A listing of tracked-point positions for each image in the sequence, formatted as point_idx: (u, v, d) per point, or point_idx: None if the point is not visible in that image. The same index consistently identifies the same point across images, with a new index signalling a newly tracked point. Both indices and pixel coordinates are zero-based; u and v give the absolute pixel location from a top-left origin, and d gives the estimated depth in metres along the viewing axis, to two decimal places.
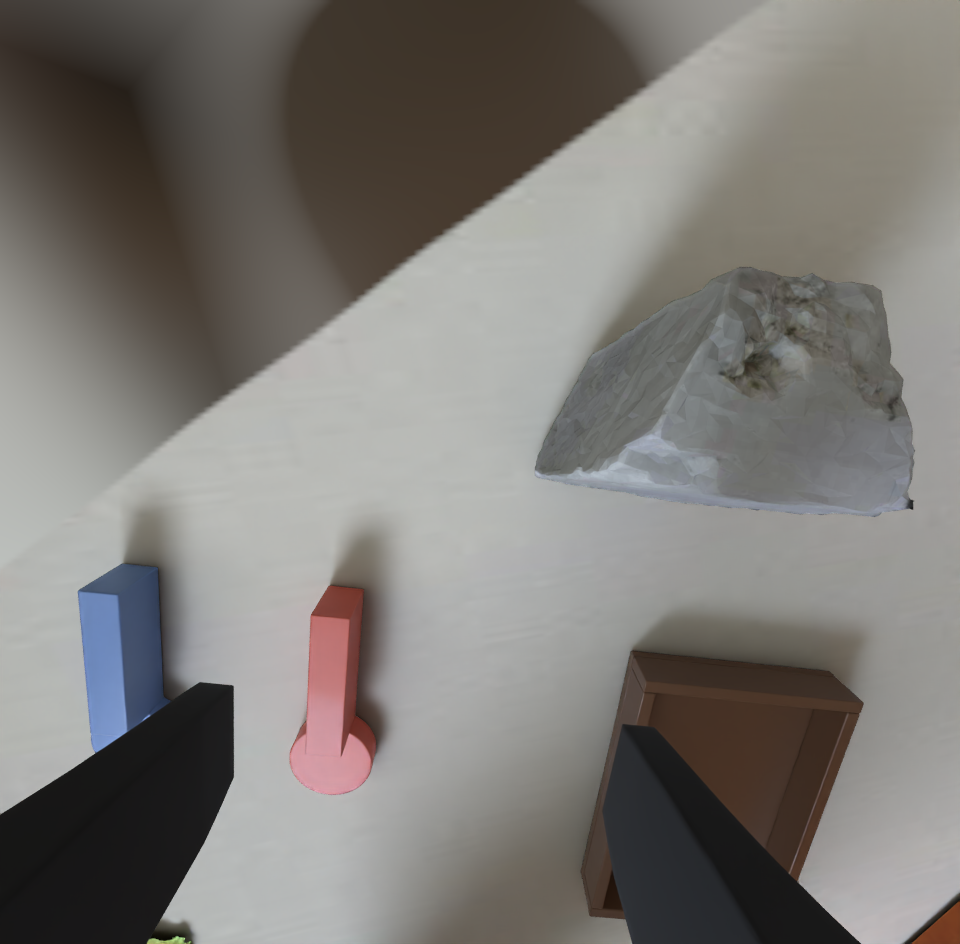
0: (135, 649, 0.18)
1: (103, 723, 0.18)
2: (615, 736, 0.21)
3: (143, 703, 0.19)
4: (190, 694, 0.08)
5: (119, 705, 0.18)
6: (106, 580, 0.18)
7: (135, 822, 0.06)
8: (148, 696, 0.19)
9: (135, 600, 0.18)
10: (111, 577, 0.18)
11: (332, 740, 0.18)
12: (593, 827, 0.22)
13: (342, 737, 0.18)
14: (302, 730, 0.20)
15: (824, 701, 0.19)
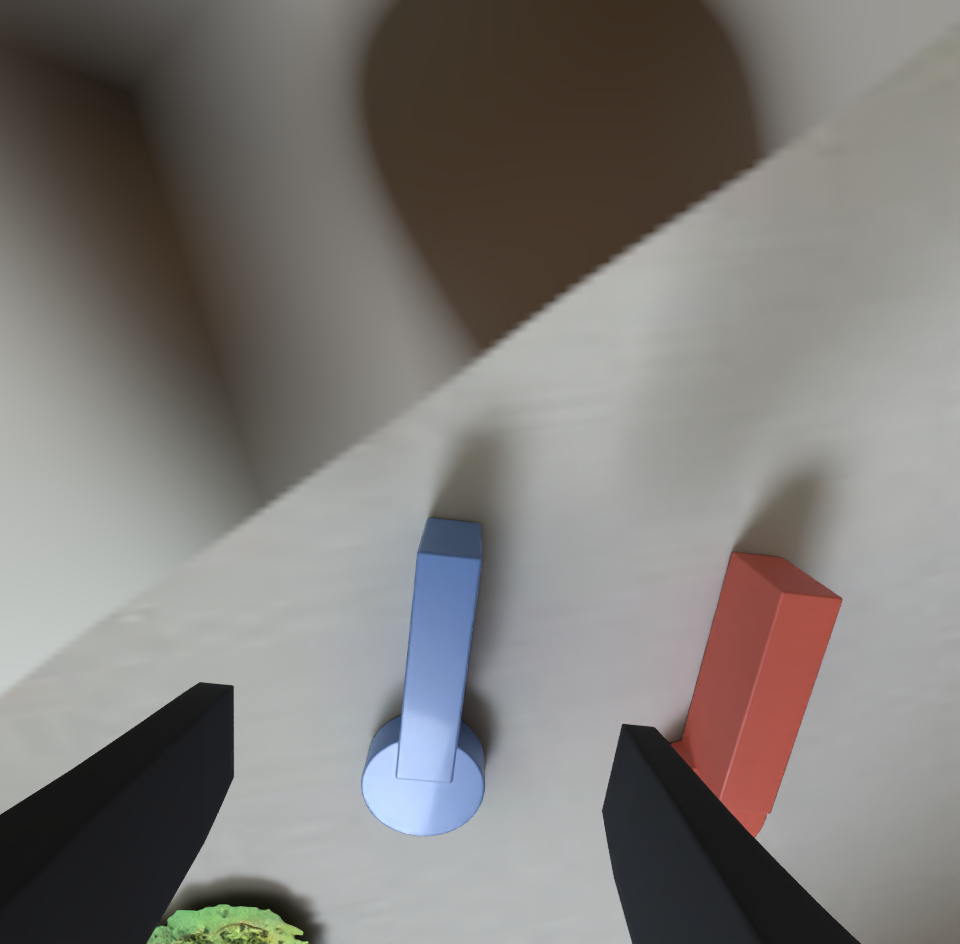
0: None
1: (419, 762, 0.12)
2: None
3: None
4: (190, 694, 0.08)
5: (448, 735, 0.11)
6: (440, 539, 0.11)
7: (135, 822, 0.06)
8: None
9: None
10: (439, 534, 0.11)
11: (764, 788, 0.12)
12: None
13: (779, 784, 0.12)
14: None
15: None
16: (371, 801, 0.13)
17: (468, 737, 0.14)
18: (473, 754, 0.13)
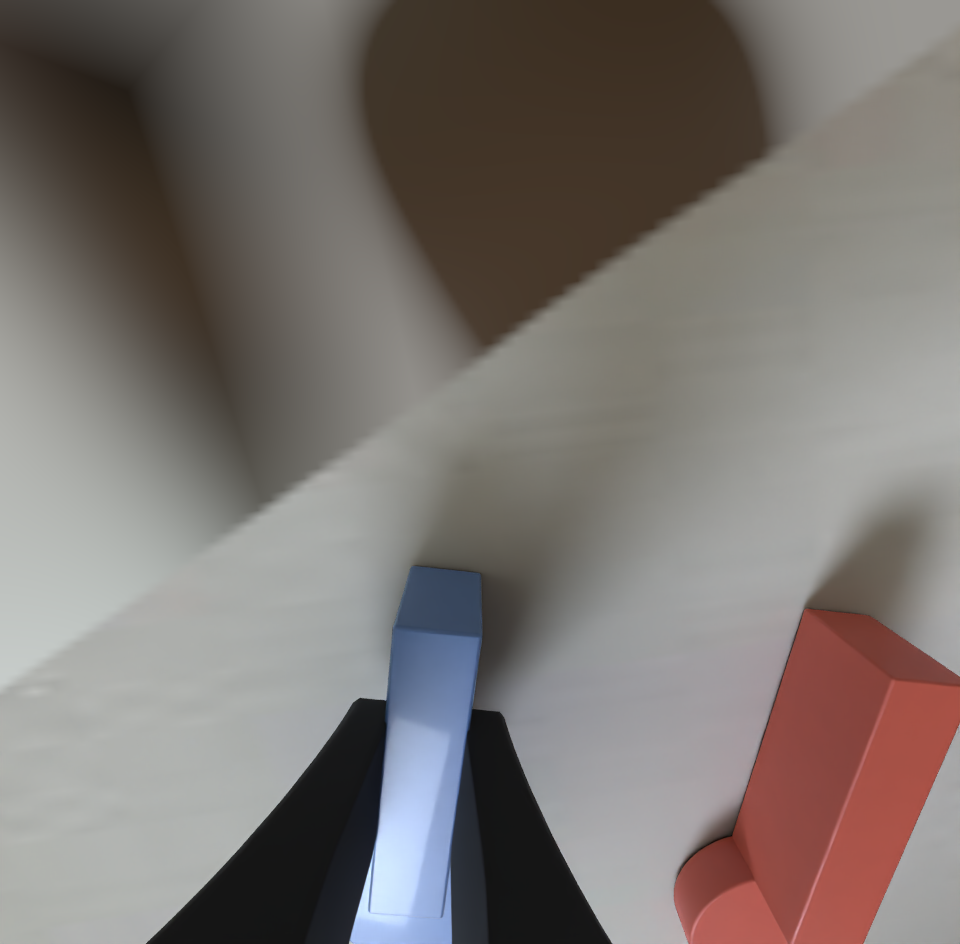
0: None
1: (399, 894, 0.09)
2: None
3: None
4: (360, 710, 0.08)
5: (438, 860, 0.09)
6: (425, 603, 0.08)
7: (352, 841, 0.06)
8: None
9: None
10: (424, 594, 0.09)
11: (853, 923, 0.09)
12: None
13: (873, 918, 0.09)
14: (711, 874, 0.11)
15: None
16: None
17: None
18: None
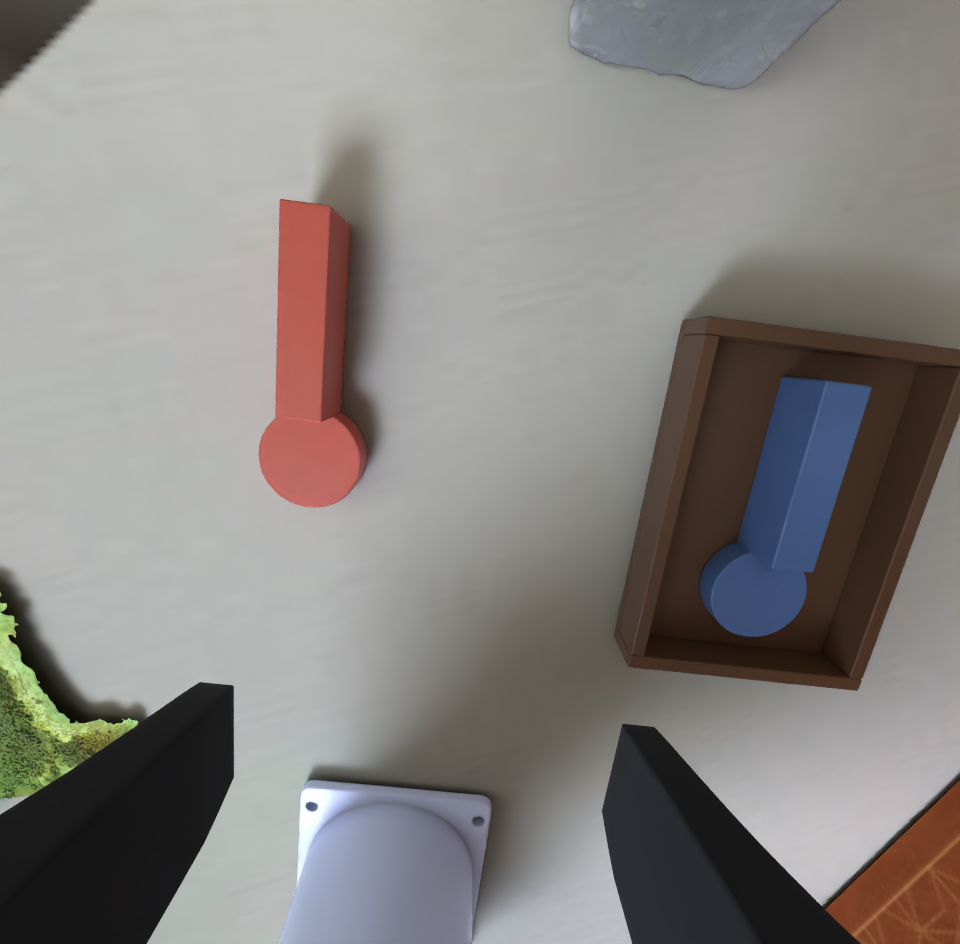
0: None
1: (793, 554, 0.15)
2: (662, 436, 0.17)
3: None
4: (189, 694, 0.08)
5: (819, 531, 0.15)
6: None
7: (135, 822, 0.06)
8: None
9: None
10: None
11: (309, 396, 0.14)
12: (631, 569, 0.18)
13: (322, 392, 0.14)
14: None
15: (932, 350, 0.15)
16: (717, 606, 0.17)
17: None
18: None
